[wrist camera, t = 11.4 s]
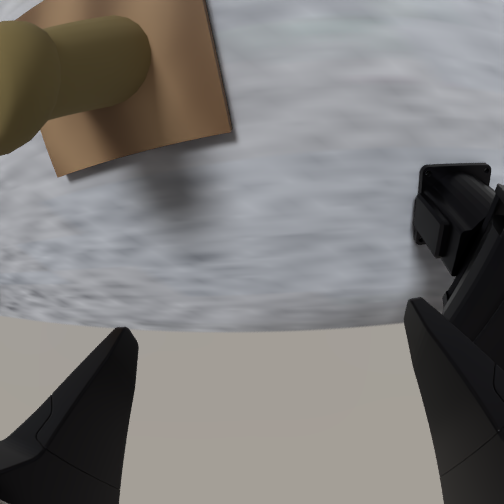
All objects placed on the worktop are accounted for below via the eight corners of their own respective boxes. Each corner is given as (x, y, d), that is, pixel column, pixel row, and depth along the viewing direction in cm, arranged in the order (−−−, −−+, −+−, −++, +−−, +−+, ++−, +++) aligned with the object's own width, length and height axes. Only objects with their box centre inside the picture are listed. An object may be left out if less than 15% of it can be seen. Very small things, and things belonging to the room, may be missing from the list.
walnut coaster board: (192, -58, 11) (188, -63, 10) (232, 128, 18) (230, 132, 17) (22, 20, 12) (13, 21, 12) (64, 172, 20) (57, 177, 19)
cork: (172, 56, 15) (59, 77, 6) (106, 125, 17) (-12, 213, 8) (109, -3, 12) (-30, -16, 3) (50, 69, 14) (-83, 120, 6)
